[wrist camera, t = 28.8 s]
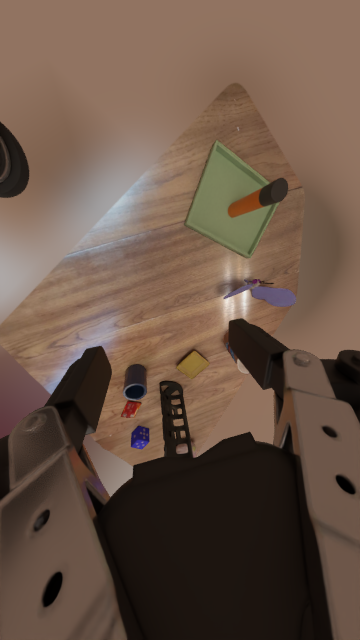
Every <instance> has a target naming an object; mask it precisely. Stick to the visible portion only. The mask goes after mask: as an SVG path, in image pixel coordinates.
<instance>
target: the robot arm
mask: <svg viewBox="0 0 360 640" xmlns="http://www.w3.org/2000/svg"><path fill="white" fill-rule="evenodd" d="M10 171H11V158H10V154H9V151H8V148H7V146H6V144H5V142H4V140H3V139H2V137H1V136H0V183H2V182H4V181H5V180H6V179H7V178H8V176H9V174H10ZM228 342H229V346H230V349H231V350H232V351H233V353H234V354H235V355H236V356H237V358H238V359H239V360H240V361H241V363H242V364H243V365H244V366H245V368H246V369H247V370H248V371H249V373H250V374H251V375H252V376H253V378H254V379H255V380H256V381H257V383H258V384H259V385H260V386H261V388H262V389H263V390H265V389H269V388H272V389H273V390H274V427H275V428H274V429H275V430H274V441H273V445H272V444H269V443H265V442H259V441H255V440H254V438H253V436H252V434H251V433H250V432H248V433H244V434H241V435H237V436H234V437H230V438H227V439H223V440H222V441H220V442H219V443H218V444H216V445H215V446H213V447H212V448H210V449H209V450H207V451H206V452H205V453H203V454H202V455H200V456H198V457H196V458H187V457H161V458H157V459H154V460H151V461H147V462H144V463H140V464H137V465H133V477H132V478H131V479H129V480H128V481H127V482H126V483H124V484H123V485H122V486H121V487H120V488H119V489H118V490H117V491H116V492H115V493H114V494H113V495H112V496H111V498H110V496H109V494H108V493H107V491H106V489H105V488H104V486H103V484H102V483H101V481H100V479H99V477H98V474H97V472H96V470H95V468H94V465H93V463H92V461H91V459H90V457H89V455H88V452H87V450H86V448H85V446H84V445H83V440H84V437H85V435H88V434H92V433H95V432H96V428H97V425H98V421H99V418H100V414H101V411H102V407H103V404H104V400H105V397H106V393H107V389H108V386H109V382H110V379H111V375H112V370H111V365H110V363H109V361H108V358H107V356H106V354H105V351H104V349H103V347H102V346H98V347H93V348H88V349H86V350H85V352H84V353H83V355H82V357H81V358H80V359H78V360H77V361H75V362H74V363H73V364H72V365H71V366H70V367H69V369H68V370H67V372H66V373H65V375H64V377H63V378H62V380H61V382H60V383H59V384H58V386H57V387H56V389H55V390H54V392H53V394H52V395H51V397H50V398H49V400H48V401H47V403H46V404H45V406H44V407H42V408H39V409H37V410H35V411H33V412H32V413H30V414H29V415H27V416H26V417H25V418H23V419H22V420H21V421H20V422H19V423H18V424H17V425H16V426H15V427H14V429H13V430H12V432H11V433H10V435H8V436H5V437H3V438H1V439H0V640H360V351H355V350H344V351H341V352H339V354H338V357H337V359H336V360H334V359H319V358H317V357H316V356H315V355H313V354H311V353H308V352H306V351H301V350H295V349H293V350H290V349H288V348H287V347H286V346H284V345H283V344H282V343H280V342H279V341H277V340H276V339H275V338H273V337H272V336H271V335H269V334H268V333H266V332H265V331H264V330H263V329H261V328H260V327H258V326H255V325H252V324H249V323H248V322H246V321H245V320H244V319H242V318H240V319H235V320H231V321H229V334H228Z"/></svg>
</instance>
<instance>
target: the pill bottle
mask: <svg viewBox="0 0 360 640" xmlns="http://www.w3.org/2000/svg"><path fill="white" fill-rule="evenodd" d="M287 191H288V183H287V181H286V180H285V179H284V178H279V179H277V180H275V181H273V182H271V183H270V184H268V185H266V186H264V187H263V188H261V189H259V190H257V191H255V192H253V193H251V194H249V195H247V196H245V197H243V198H241V199H240V200H238V201H236V202H234V203H232V204H231V205H230V206H229V208H228V215H229V216H230V217H232V218H234V217H237V216H240V215H242V214H245V213H248V212H251V211H254V210H257V209H259V208H262V207H266V206H269V205H272V204H275V203H277V202H280V201H282V200H283V199H284V198H285V196H286V194H287Z"/></svg>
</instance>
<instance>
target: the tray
mask: <svg viewBox="0 0 360 640" xmlns="http://www.w3.org/2000/svg"><path fill="white" fill-rule="evenodd" d="M268 184H270V182H269V181H267V180H266V179H265V178H264V177H263V176H261V175H260V174H259V173H258V172H256V171H255V170H254V169H253V168H251V167H250V166H249V165H248V164H246V163H245V162H244V161H243V160H241V159H240V158H239V157H238V156H236V155H235V154H234V153H233V152H231V151H230V150H229V149H228V148H226V147H225V146H224V145H223V144H221V143H220V142H219V141H218V140H216V141H215V142H214V144H213V145H212V148H211V151H210V154H209V156H208V159H207V162H206V165H205V167H204V170H203V173H202V176H201V179H200V181H199V184H198V187H197V190H196V193H195V195H194V198H193V201H192V204H191V207H190V209H189V212H188V215H187V218H186V220H185V223H184V225H185V226H187V227H189V228H190V229H192V230H194V231H196V232H198V233H200V234H202V235H204V236H205V237H207V238H209V239H211V240H213V241H215V242H217V243H219V244H221V245H222V246H224V247H226V248H228V249H230V250H232V251H234V252H236V253H238V254H239V255H241V256H243V257H245V258H251V256H252V254H253V252H254V251H255V249H256V247H257V245H258V243H259V241H260V239H261V237H262V235H263V233H264V231H265V229H266V227H267V225H268V223H269V222H270V220H271V218H272V216H273V214H274V212H275V210H276V208H277V206H278V204H279V202H277V203H275V204H272V205H269V206H266V207H262V208H259V209H257V210H254V211H251V212H248V213H245V214H242V215H240V216H237V217H234V218H232V217H230V216H229V215H228V208H229V206H230V205H231V204H232V203H234V202H236V201H238V200H240V199H241V198H243V197H245V196H247V195H249V194H251V193H253V192H255V191H257V190H259V189H261V188H263V187H264V186H266V185H268Z"/></svg>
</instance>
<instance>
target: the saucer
mask: <svg viewBox="0 0 360 640" xmlns="http://www.w3.org/2000/svg"><path fill="white" fill-rule="evenodd" d="M209 364H210V363H209V362H208V361H206V360H205V359H204V358H203V357H202V356H201V355H199V354H198V353H197V352H196V351H193V352H192V353H190V354H189V355H188V356H187V357H186V358H185V359H184V360H183V361H182V362H181V363H179V364H178V366H177V367H176V368H177V369H178V370H179V371H181V372H182V373H183V374H185V375H186V376H188V377H189V378H191V379H193V378H194V377H196V376H197V375H198V374H199V373H200V372H201V371H202V370H204V369H205V368H206V367H207V366H208V365H209Z"/></svg>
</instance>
